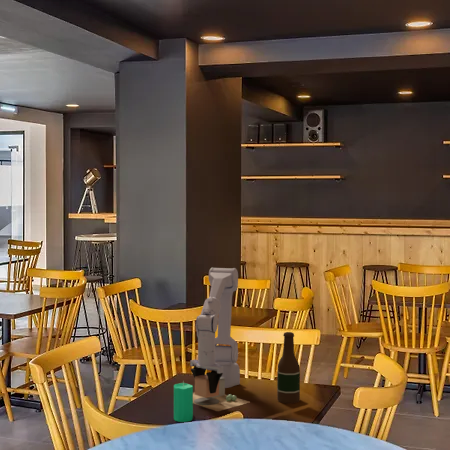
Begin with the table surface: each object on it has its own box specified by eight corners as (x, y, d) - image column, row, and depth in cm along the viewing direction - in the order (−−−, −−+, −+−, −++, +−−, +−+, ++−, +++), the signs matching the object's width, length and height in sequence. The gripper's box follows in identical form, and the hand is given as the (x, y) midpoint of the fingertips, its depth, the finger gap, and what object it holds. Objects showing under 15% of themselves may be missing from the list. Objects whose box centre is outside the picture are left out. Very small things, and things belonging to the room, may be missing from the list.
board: (207, 391, 246) (207, 388, 246) (250, 405, 230) (250, 401, 230) (174, 399, 236) (174, 396, 236) (217, 414, 220) (217, 410, 220)
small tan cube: (207, 391, 235) (207, 374, 235) (218, 395, 231) (219, 377, 231) (194, 394, 231) (194, 376, 231) (205, 397, 227) (206, 379, 227)
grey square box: (213, 391, 243) (213, 374, 243) (224, 395, 239) (224, 377, 239) (201, 394, 239) (201, 377, 239) (212, 398, 235) (212, 380, 235)
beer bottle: (302, 401, 235) (302, 331, 235) (297, 407, 228) (297, 335, 227) (280, 399, 238) (280, 330, 237) (274, 405, 230) (274, 334, 230)
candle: (173, 416, 218) (173, 378, 218) (192, 415, 219) (192, 378, 218) (173, 422, 212) (173, 383, 212) (193, 421, 213) (193, 383, 212)
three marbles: (230, 398, 235) (230, 393, 235) (237, 400, 232) (237, 395, 232) (222, 400, 232) (222, 395, 232) (230, 402, 230) (230, 397, 230)
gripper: (183, 348, 233) (183, 388, 233) (212, 355, 222) (212, 397, 223) (199, 345, 238) (199, 385, 238) (228, 352, 227) (228, 393, 228)
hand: (206, 390), depth 231 cm, fingers closed on small tan cube, 6 cm apart
